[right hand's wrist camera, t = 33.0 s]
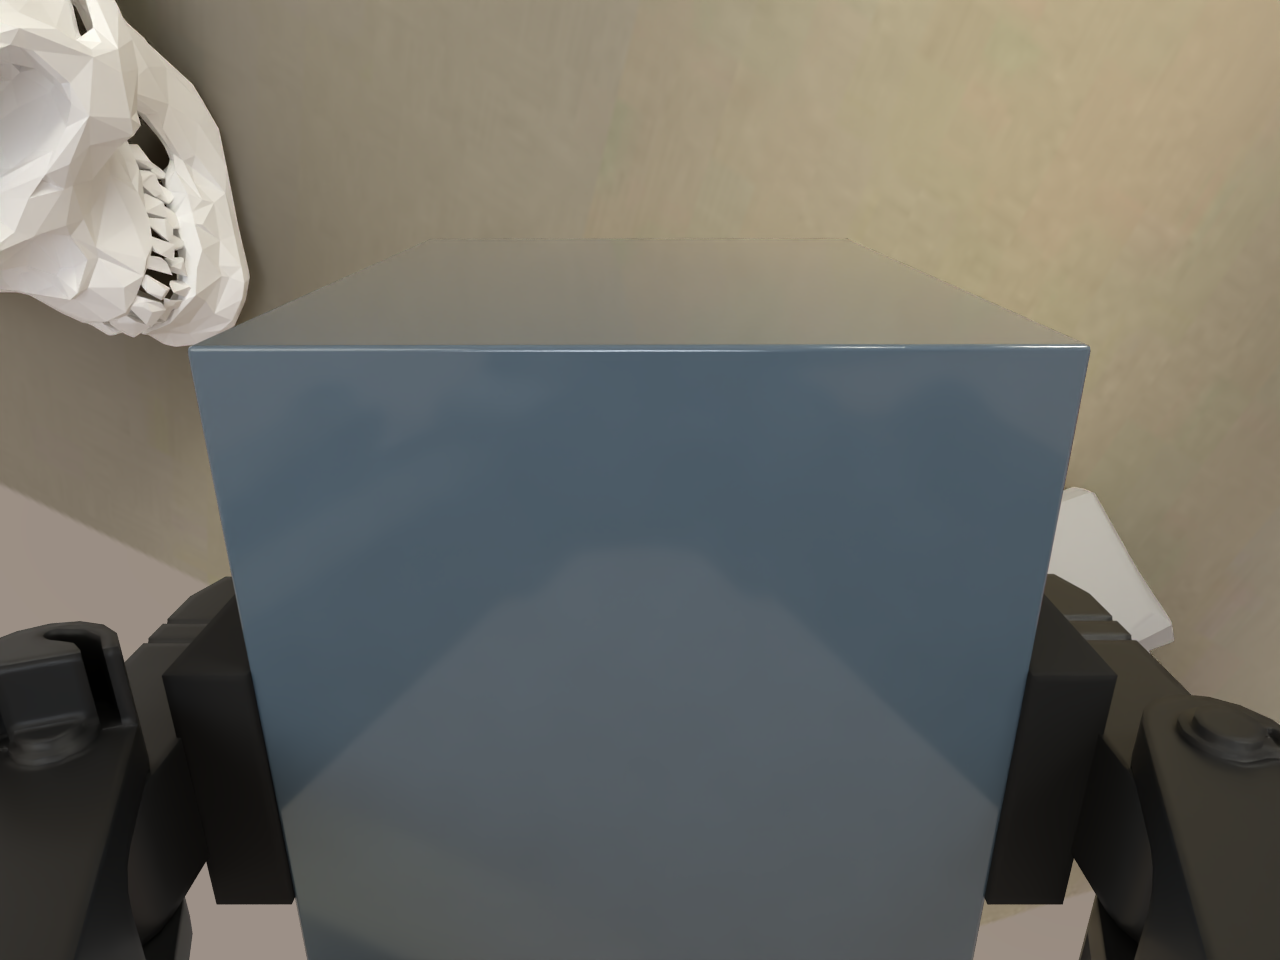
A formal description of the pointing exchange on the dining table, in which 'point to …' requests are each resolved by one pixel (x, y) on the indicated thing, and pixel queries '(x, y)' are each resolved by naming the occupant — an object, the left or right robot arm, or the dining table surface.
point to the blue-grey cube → (639, 594)
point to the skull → (111, 179)
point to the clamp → (1106, 568)
